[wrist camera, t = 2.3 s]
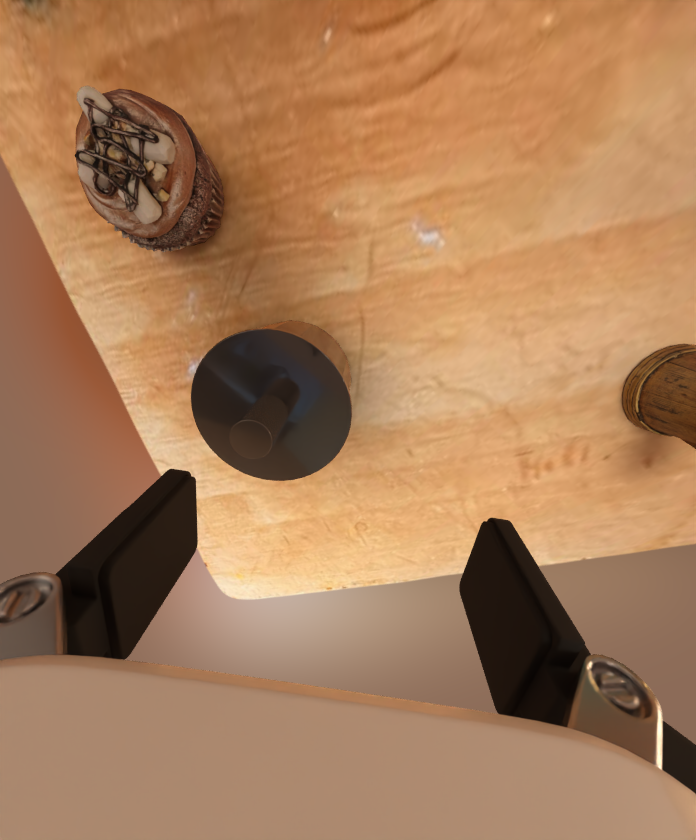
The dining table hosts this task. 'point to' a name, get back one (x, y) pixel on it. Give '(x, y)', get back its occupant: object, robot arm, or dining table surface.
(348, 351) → the dining table surface
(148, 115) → the cupcake
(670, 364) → the wooden mug
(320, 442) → the lid
